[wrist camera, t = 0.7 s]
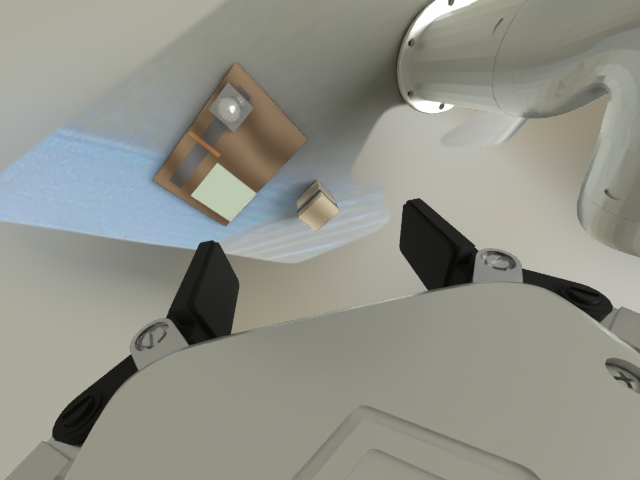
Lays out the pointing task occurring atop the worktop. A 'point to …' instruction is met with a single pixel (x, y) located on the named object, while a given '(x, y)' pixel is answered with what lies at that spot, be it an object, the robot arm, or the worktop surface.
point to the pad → (223, 193)
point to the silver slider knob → (231, 107)
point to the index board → (232, 145)
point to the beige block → (316, 206)
